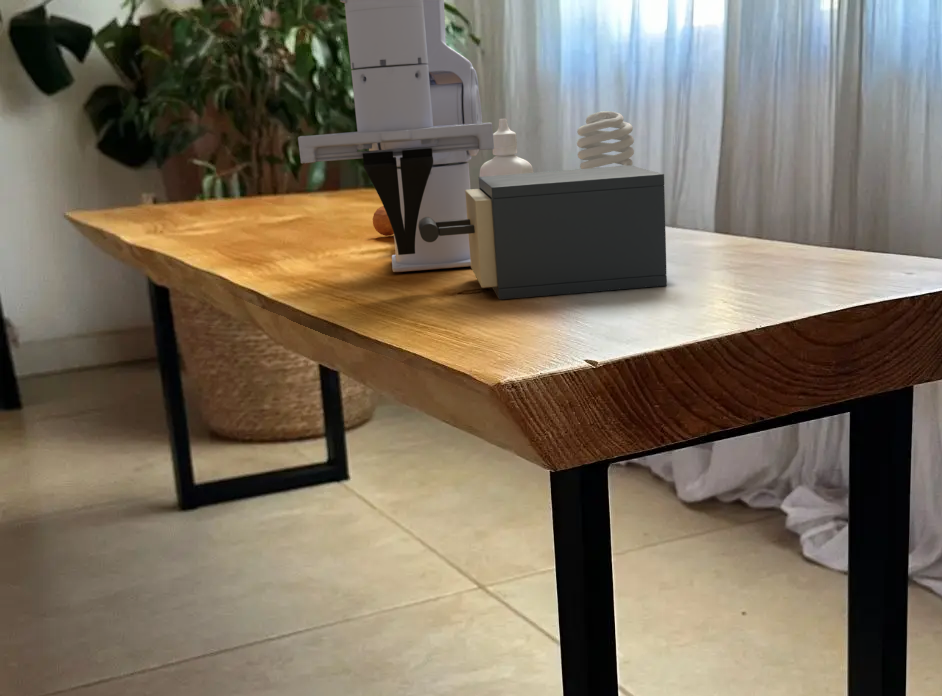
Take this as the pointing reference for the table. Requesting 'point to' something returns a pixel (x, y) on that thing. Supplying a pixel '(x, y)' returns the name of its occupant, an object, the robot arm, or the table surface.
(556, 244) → the cabinet
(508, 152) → the eye dropper bottle
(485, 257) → the drawer
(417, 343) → the table surface
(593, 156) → the light bulb
